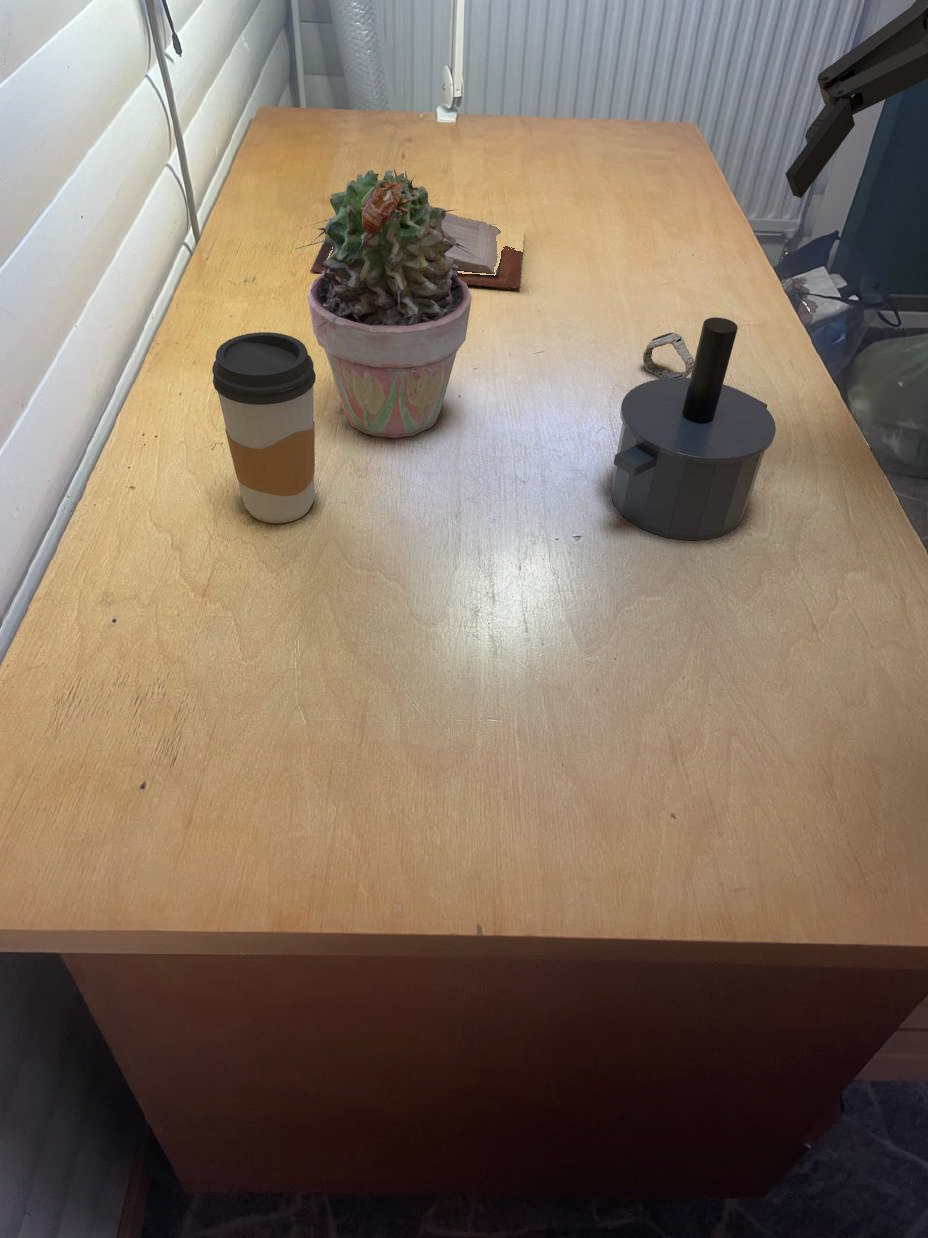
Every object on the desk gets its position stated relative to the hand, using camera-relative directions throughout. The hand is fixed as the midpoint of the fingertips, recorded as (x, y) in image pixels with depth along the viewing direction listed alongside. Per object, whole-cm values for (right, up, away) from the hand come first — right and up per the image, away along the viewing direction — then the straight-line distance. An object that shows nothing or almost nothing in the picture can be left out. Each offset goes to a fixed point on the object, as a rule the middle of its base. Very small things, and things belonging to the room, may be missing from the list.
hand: (869, 214), depth 66 cm
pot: (-9, -18, +21) cm, 29 cm away
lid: (-9, -12, +15) cm, 21 cm away
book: (-35, +21, +60) cm, 73 cm away
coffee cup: (-46, -19, +18) cm, 53 cm away
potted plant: (-37, -7, +30) cm, 49 cm away
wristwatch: (-7, -2, +38) cm, 39 cm away
